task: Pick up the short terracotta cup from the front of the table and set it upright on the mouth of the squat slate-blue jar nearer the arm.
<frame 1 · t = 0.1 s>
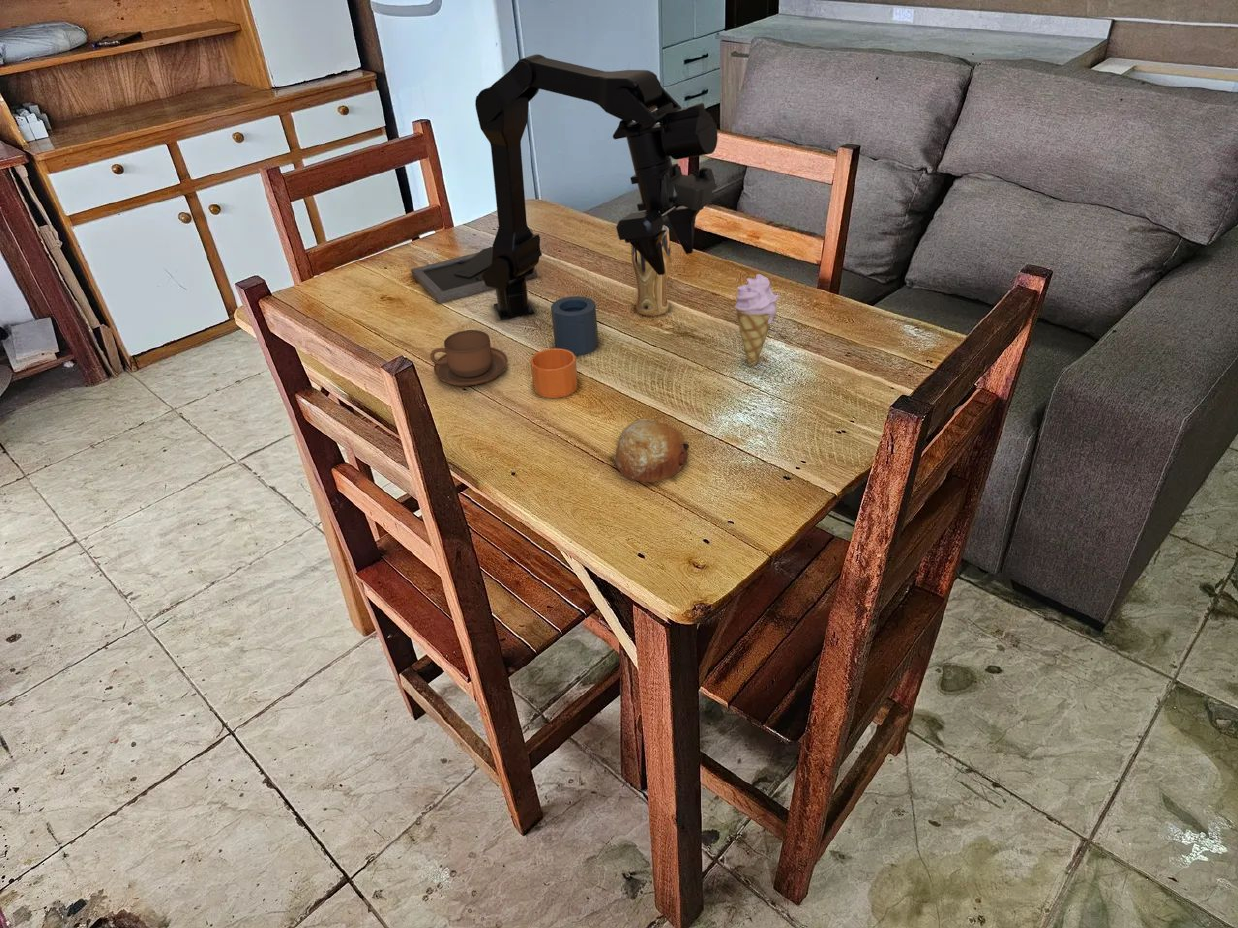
hand: (675, 263, 131), 15 cm above the table, tool pointing down, fingers open, 9 cm apart
beer glass: (652, 309, 154), on the table
cup and saucer: (472, 374, 137), on the table
ice cream cone: (754, 364, 135), on the table
bread roll: (651, 462, 115), on the table
picture frame: (474, 277, 170), on the table
jar: (576, 345, 143), on the table
cup: (555, 386, 133), on the table
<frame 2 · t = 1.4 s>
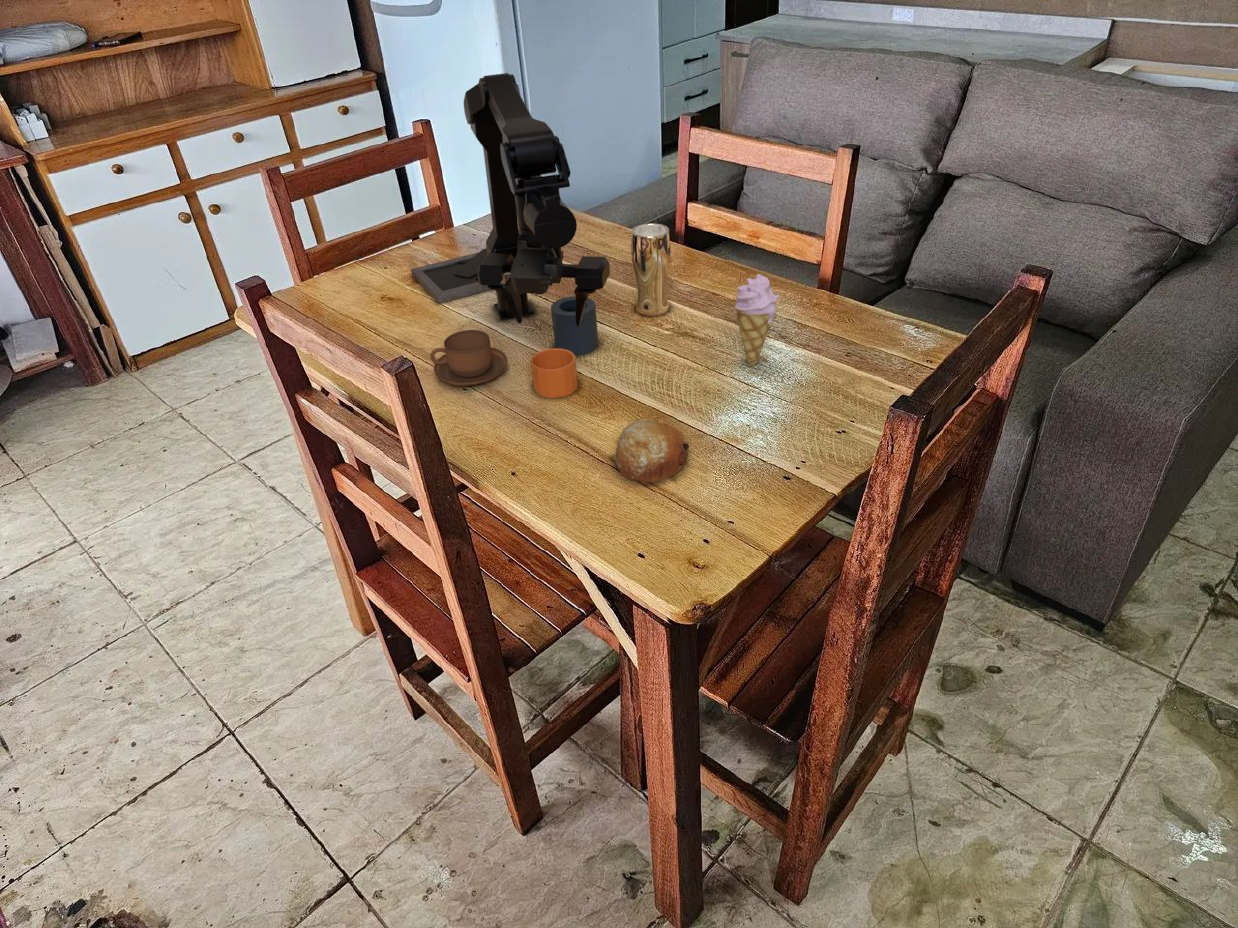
hand: (549, 323, 126), 11 cm above the table, tool pointing down, fingers open, 9 cm apart
nothing on the table moved.
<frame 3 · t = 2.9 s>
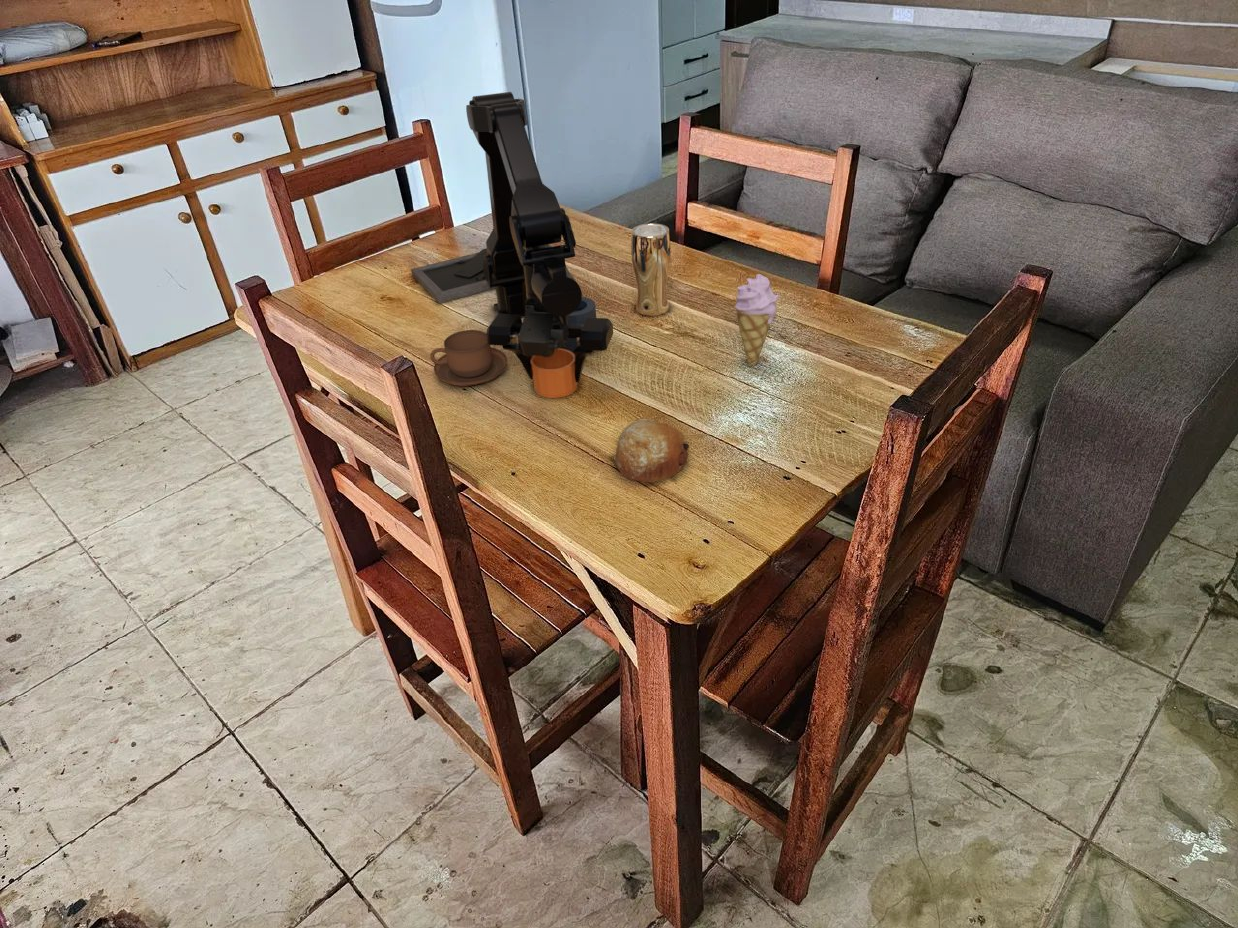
hand: (555, 379, 132), 1 cm above the table, tool pointing down, fingers closed on cup, 7 cm apart
cup: (555, 386, 133), on the table, touching gripper
everything else where it was.
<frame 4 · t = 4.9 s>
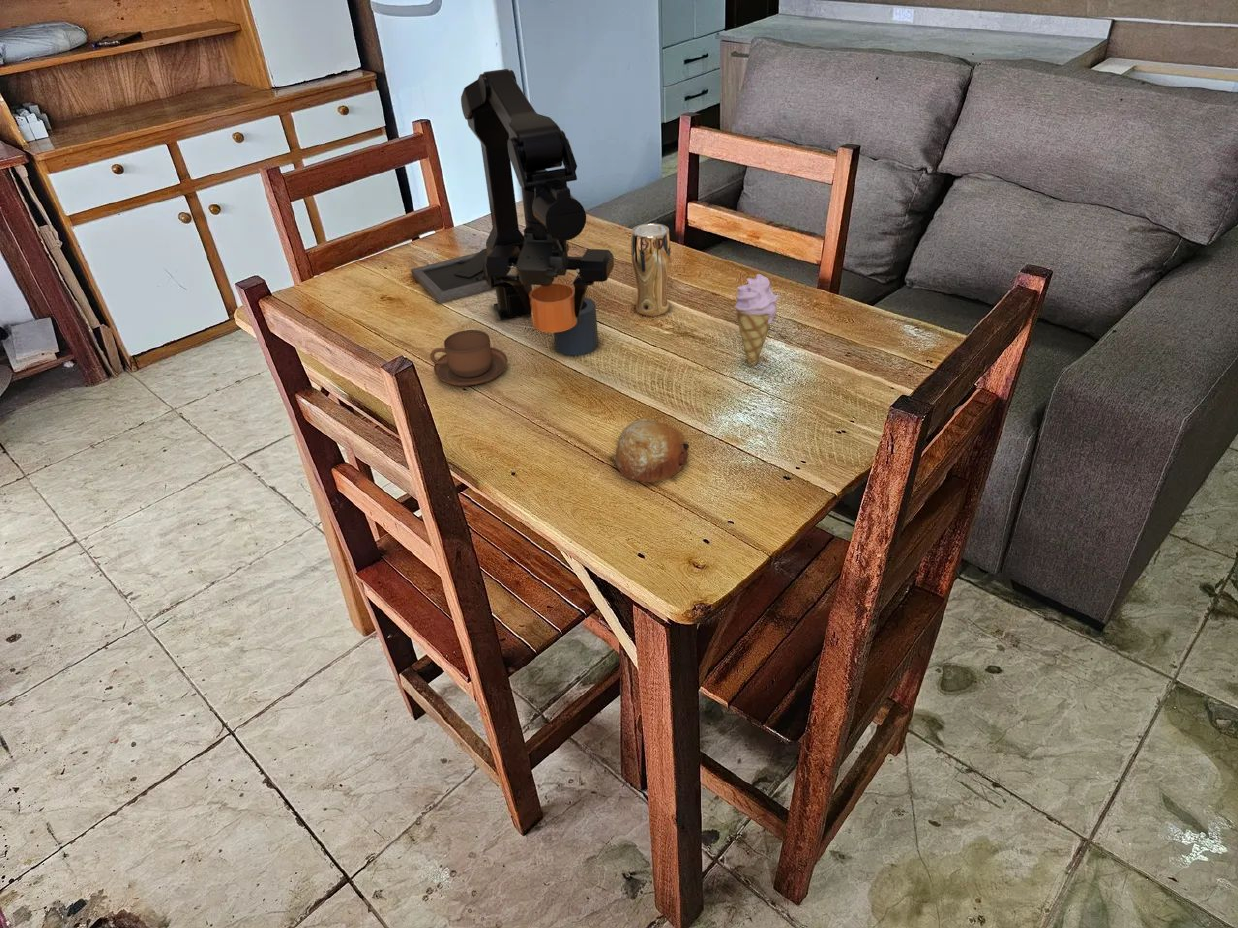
hand: (554, 314, 129), 11 cm above the table, tool pointing down, fingers closed on cup, 7 cm apart
cup: (555, 322, 130), point 10 cm above the table, touching gripper
everything else where it was.
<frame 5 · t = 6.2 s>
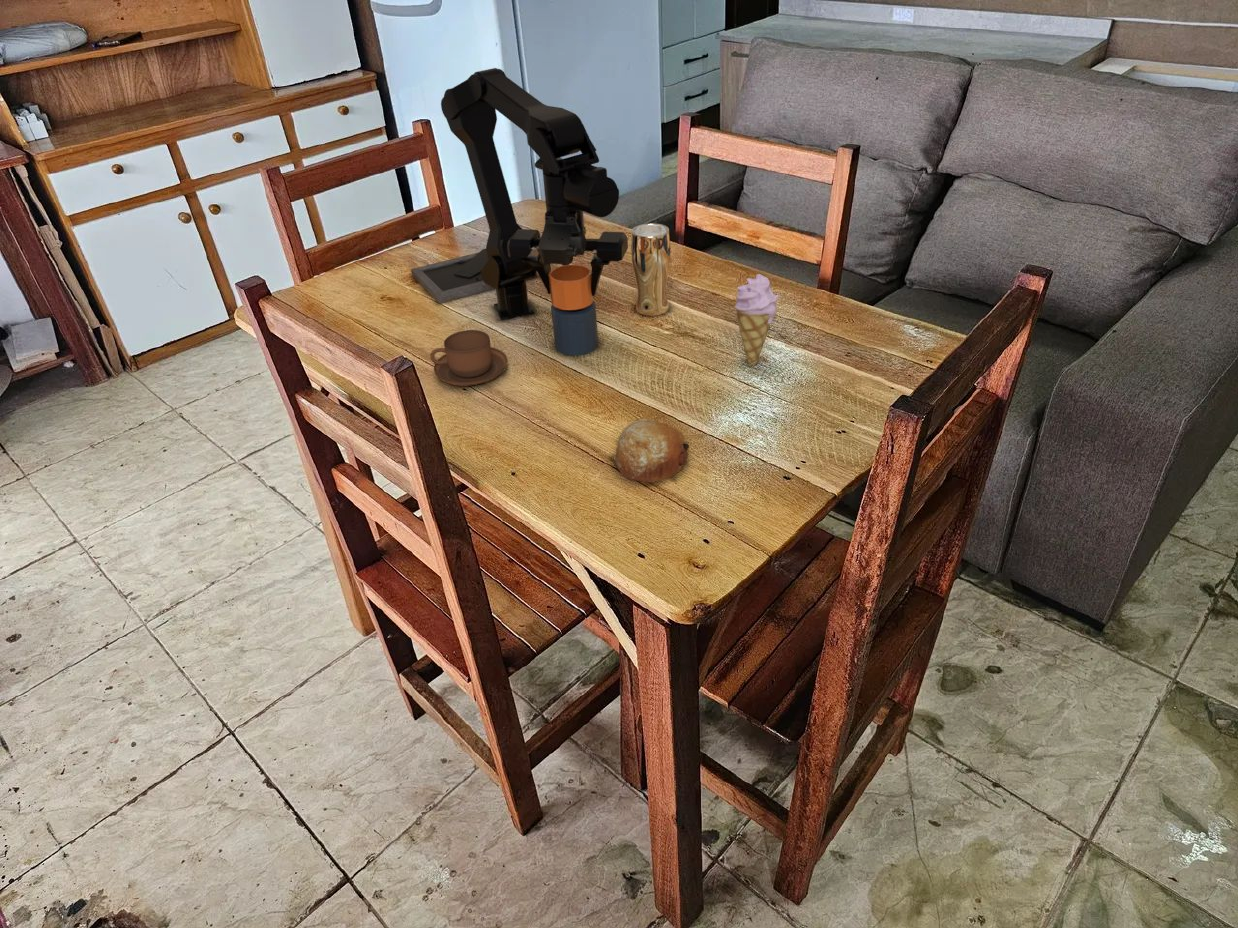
hand: (571, 294, 138), 10 cm above the table, tool pointing down, fingers closed on cup, 7 cm apart
cup: (572, 301, 139), point 8 cm above the table, touching gripper
everything else where it was.
when the fingers open (9 cm above the table, at t = 7.0 s): cup stays where it is, resting on jar.
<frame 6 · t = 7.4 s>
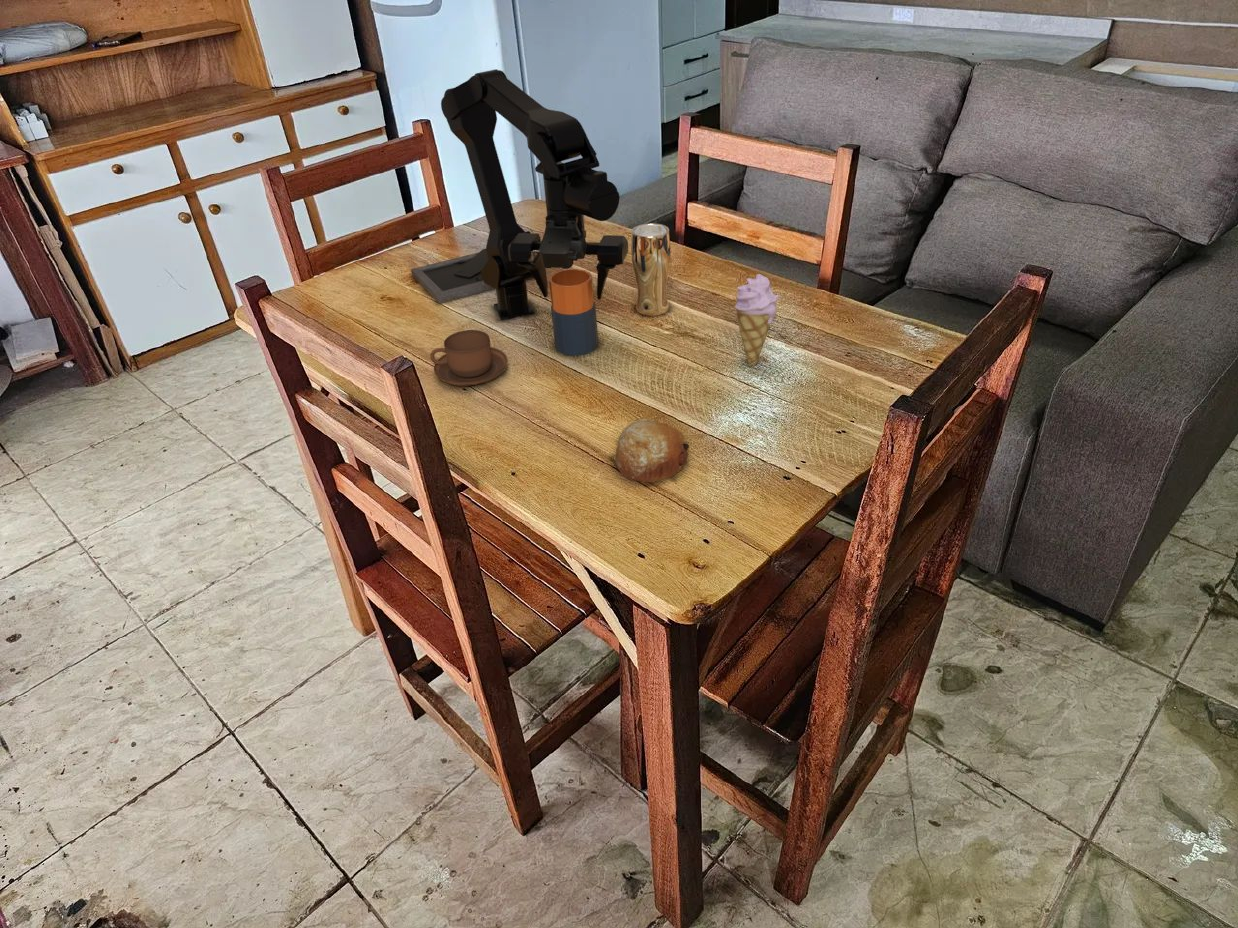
hand: (572, 297, 138), 9 cm above the table, tool pointing down, fingers open, 9 cm apart
jar: (576, 345, 143), on the table, touching cup
cup: (573, 305, 139), point 7 cm above the table, touching jar
everything else where it was.
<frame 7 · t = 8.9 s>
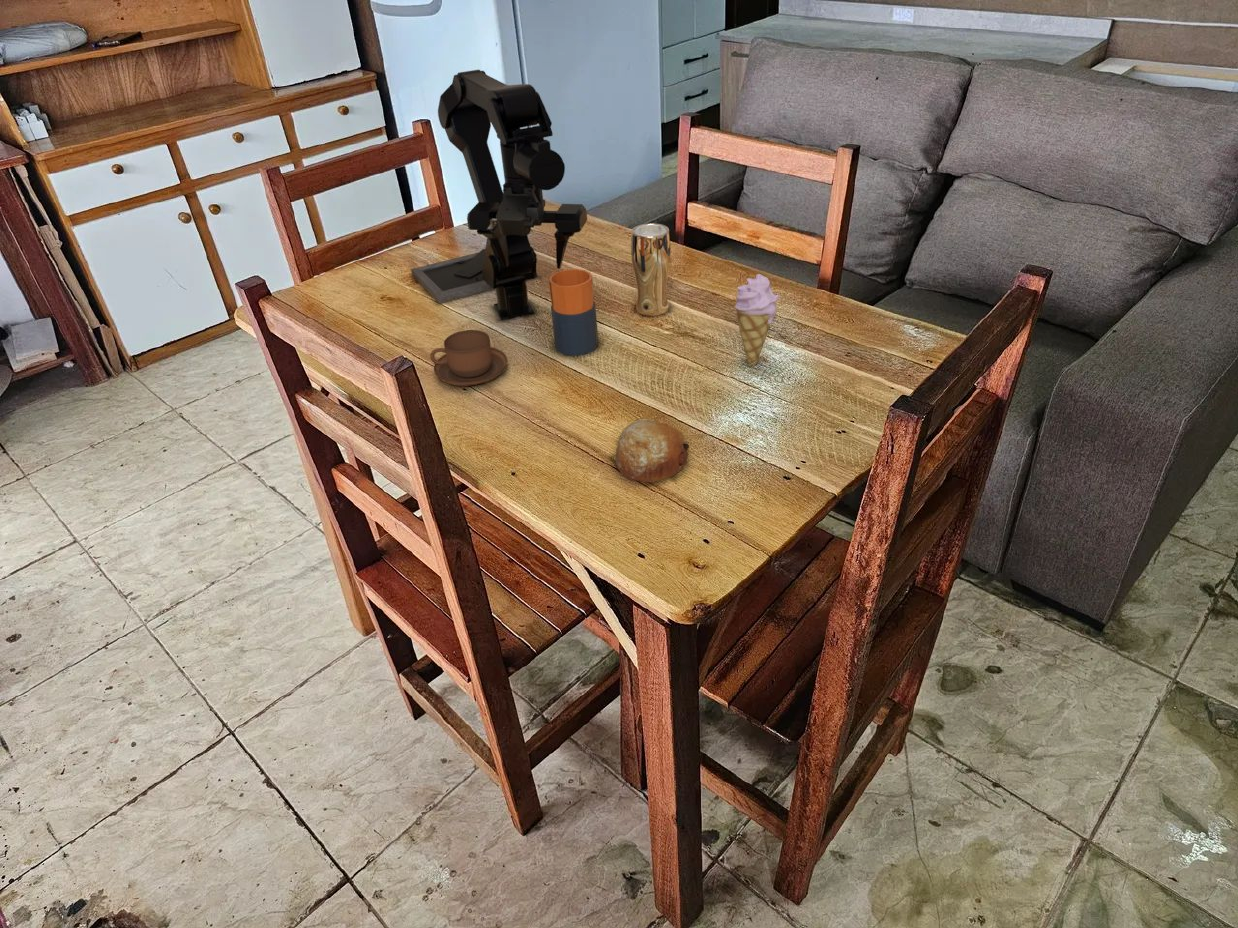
hand: (532, 267, 139), 13 cm above the table, tool pointing down, fingers open, 9 cm apart
nothing on the table moved.
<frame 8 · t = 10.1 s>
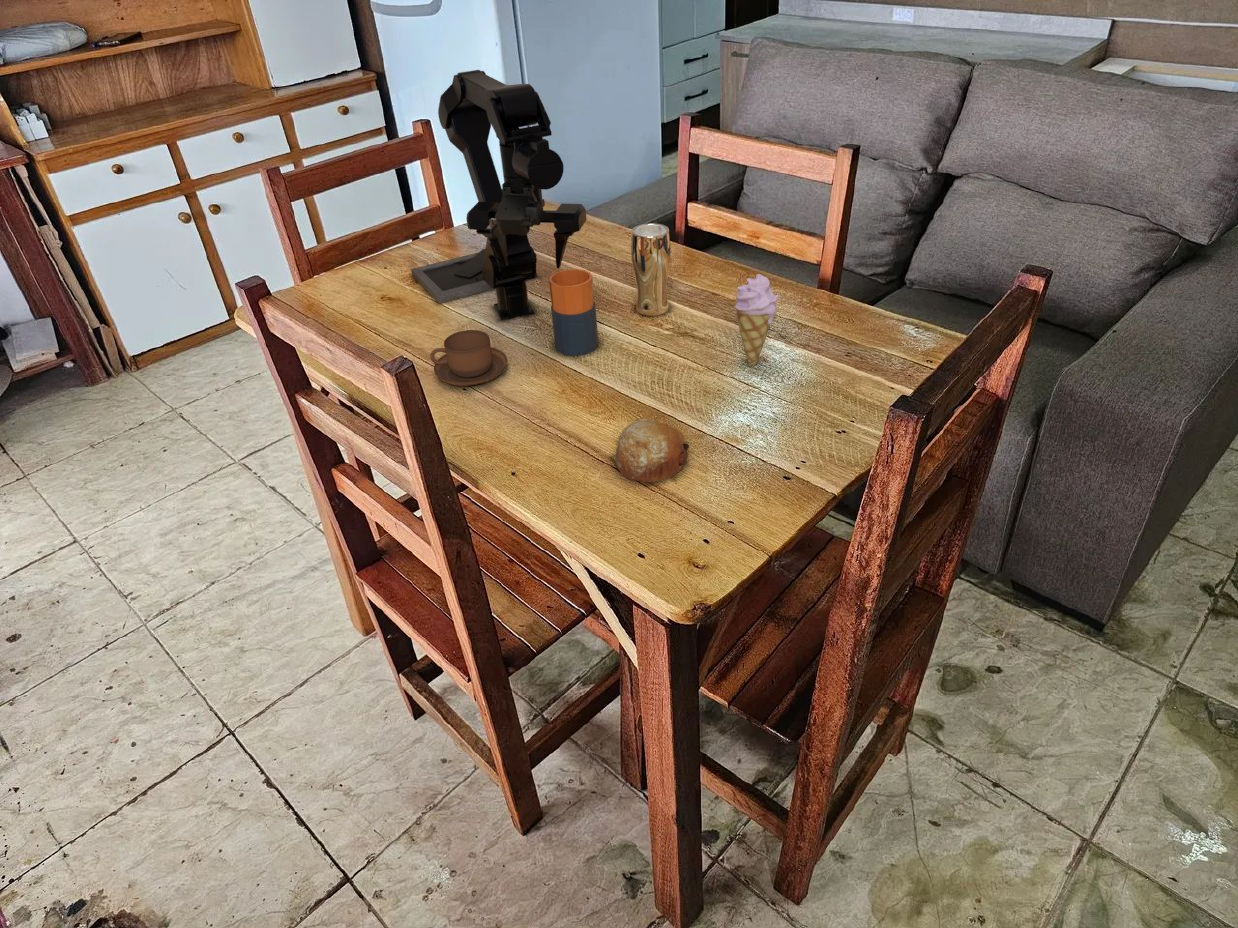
hand: (532, 266, 139), 13 cm above the table, tool pointing down, fingers open, 9 cm apart
nothing on the table moved.
at the end: cup 0.0 cm off-centre on the jar, point 7.5 cm above the jar's base; cup tilted 0°; jar tilted 0° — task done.
